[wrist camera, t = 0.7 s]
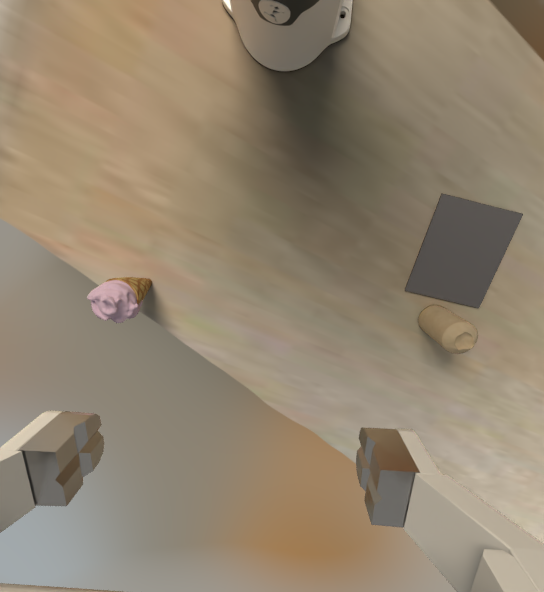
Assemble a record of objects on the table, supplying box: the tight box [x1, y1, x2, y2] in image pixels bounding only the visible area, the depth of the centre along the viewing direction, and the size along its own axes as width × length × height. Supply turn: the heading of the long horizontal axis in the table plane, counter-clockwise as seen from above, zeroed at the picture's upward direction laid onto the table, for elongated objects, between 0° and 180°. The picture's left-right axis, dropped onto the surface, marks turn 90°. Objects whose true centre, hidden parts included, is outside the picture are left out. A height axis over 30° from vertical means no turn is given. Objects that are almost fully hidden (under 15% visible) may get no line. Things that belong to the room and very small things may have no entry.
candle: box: [418, 305, 478, 354], centre depth 49 cm, size 6×6×10 cm
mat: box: [405, 194, 523, 308], centre depth 50 cm, size 17×14×1 cm
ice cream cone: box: [87, 277, 152, 323], centre depth 47 cm, size 7×6×15 cm
